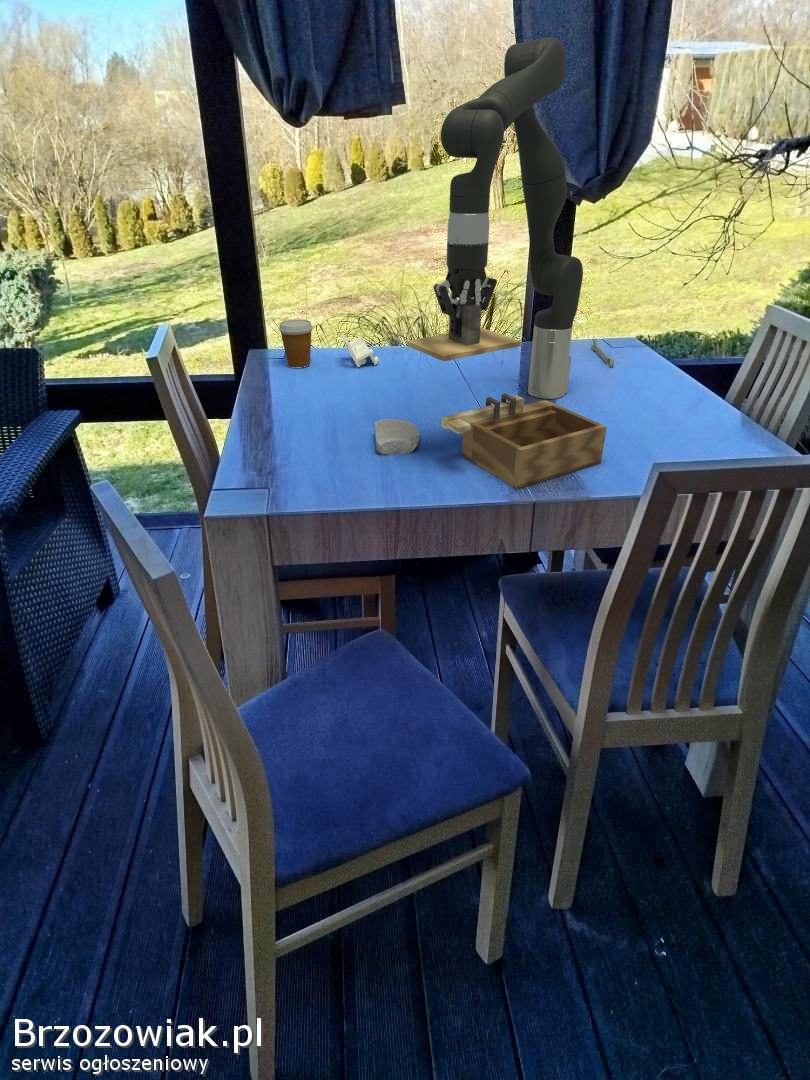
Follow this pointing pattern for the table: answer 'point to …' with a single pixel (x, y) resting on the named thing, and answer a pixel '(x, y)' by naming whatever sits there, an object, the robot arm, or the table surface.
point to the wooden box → (533, 442)
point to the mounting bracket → (359, 351)
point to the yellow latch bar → (478, 415)
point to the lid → (464, 339)
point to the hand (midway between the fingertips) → (463, 334)
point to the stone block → (395, 436)
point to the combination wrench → (602, 354)
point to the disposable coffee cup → (296, 341)
